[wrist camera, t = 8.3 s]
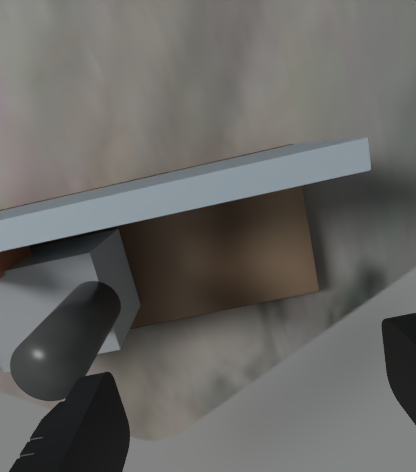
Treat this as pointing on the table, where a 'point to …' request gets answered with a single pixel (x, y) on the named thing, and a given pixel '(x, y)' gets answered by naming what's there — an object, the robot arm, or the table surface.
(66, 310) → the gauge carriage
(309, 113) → the table surface
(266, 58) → the table surface
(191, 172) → the board
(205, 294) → the base
